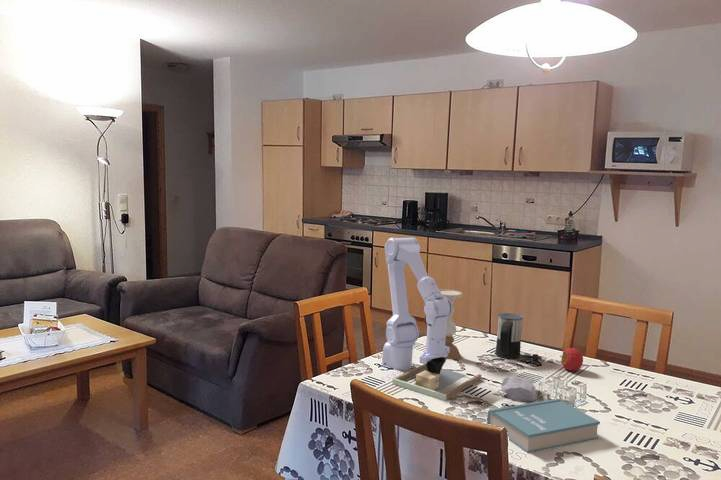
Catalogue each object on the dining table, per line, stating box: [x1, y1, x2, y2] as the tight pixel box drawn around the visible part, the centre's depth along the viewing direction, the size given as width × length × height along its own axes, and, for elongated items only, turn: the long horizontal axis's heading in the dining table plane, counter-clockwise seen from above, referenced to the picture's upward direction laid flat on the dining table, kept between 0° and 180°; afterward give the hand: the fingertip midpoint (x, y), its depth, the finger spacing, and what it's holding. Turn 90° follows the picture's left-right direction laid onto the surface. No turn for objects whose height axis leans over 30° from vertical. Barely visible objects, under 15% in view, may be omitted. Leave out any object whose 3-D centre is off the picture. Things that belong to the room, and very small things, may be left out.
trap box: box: [392, 364, 482, 402], centre depth 174 cm, size 18×23×3 cm
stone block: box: [500, 376, 537, 402], centre depth 172 cm, size 12×5×10 cm
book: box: [486, 398, 601, 454], centre depth 146 cm, size 23×16×5 cm
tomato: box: [559, 347, 584, 372], centre depth 194 cm, size 8×8×8 cm
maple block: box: [415, 370, 439, 390], centre depth 169 cm, size 5×5×4 cm
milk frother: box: [494, 312, 543, 363], centre depth 204 cm, size 14×16×15 cm
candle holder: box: [439, 288, 464, 360], centre depth 200 cm, size 11×11×24 cm
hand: (433, 380), depth 172 cm, fingers closed
